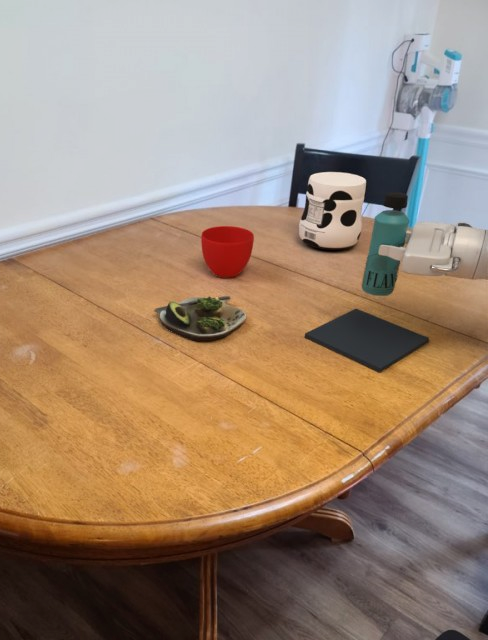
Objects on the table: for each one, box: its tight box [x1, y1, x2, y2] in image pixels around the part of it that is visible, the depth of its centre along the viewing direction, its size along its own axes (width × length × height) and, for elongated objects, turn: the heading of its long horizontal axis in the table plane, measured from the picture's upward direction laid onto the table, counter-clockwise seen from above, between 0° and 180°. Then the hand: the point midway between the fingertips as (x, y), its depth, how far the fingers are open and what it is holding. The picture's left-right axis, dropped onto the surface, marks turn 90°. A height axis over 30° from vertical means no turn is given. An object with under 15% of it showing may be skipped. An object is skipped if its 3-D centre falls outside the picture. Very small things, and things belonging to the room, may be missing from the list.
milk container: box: [298, 171, 367, 251], centre depth 157 cm, size 17×17×18 cm
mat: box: [304, 308, 431, 374], centre depth 116 cm, size 18×18×1 cm
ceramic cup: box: [200, 225, 255, 278], centre depth 143 cm, size 13×17×10 cm
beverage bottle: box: [360, 191, 410, 297], centre depth 107 cm, size 6×7×20 cm
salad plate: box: [153, 295, 247, 343], centre depth 122 cm, size 19×18×5 cm
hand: (382, 242), depth 107 cm, fingers closed on beverage bottle, 6 cm apart
